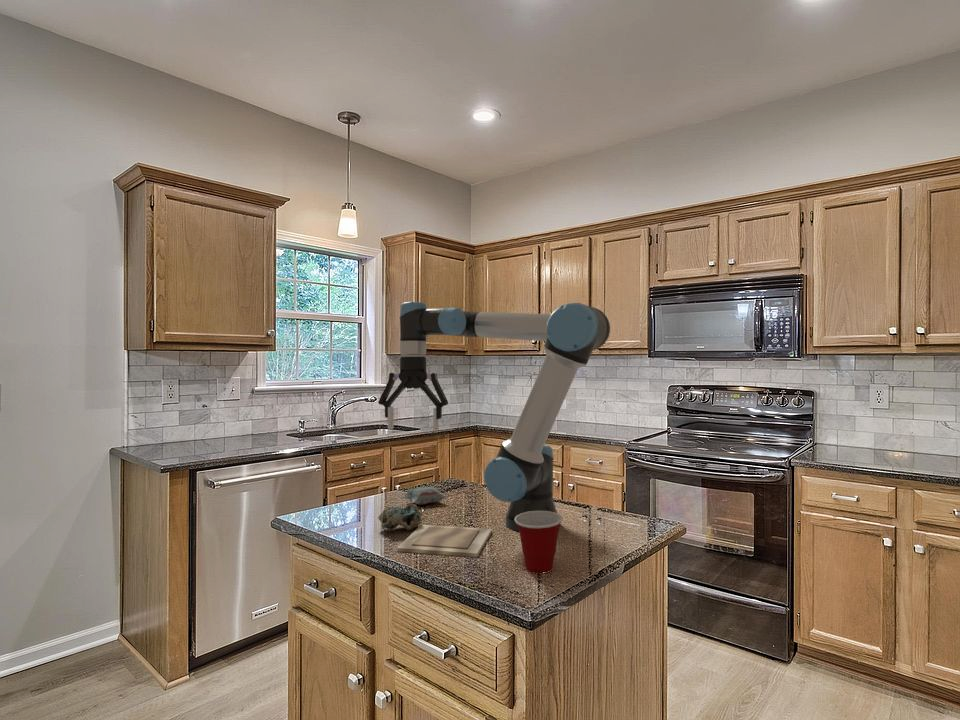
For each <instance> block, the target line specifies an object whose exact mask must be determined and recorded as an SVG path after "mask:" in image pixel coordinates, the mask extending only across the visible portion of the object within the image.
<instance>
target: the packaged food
mask: <svg viewBox="0 0 960 720" xmlns="http://www.w3.org/2000/svg"><path fill="white" fill-rule="evenodd" d="M447 498H448V495H447V494H446V493H445V494H444V493H442V492H441V491H440V489H439V488H437V487H433V486H423V487H416V488H412V489H409V490H407V492H406V494H405V495H404V499H407V500H409V501H410V502H411V504H415V505H430V504H435V503H438V502H441V501H443V500H445V499H447Z"/></svg>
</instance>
